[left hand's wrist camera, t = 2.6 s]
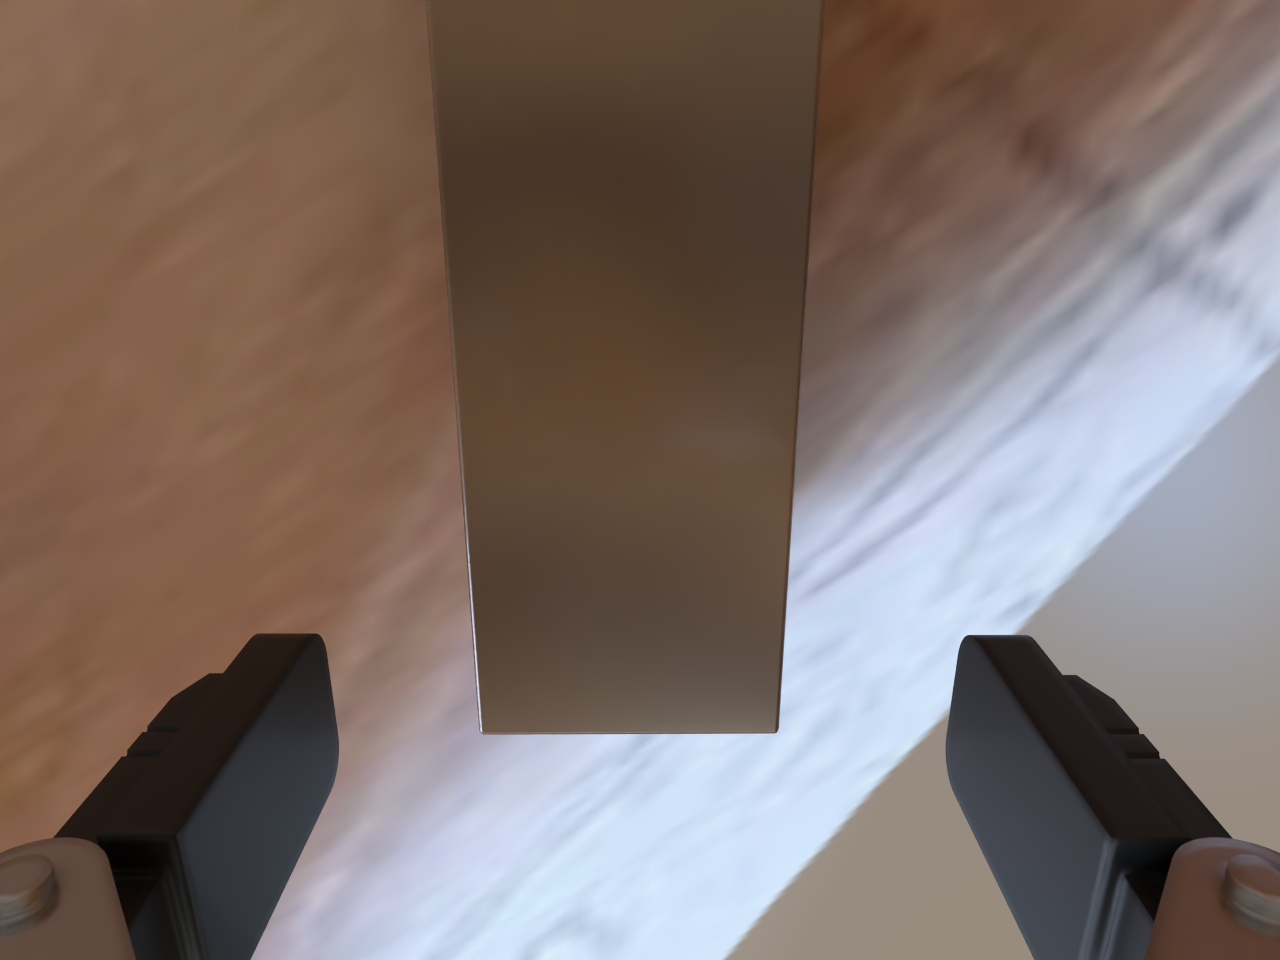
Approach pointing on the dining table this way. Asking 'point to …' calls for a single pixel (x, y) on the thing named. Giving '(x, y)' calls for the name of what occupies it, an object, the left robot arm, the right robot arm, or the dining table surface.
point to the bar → (627, 349)
